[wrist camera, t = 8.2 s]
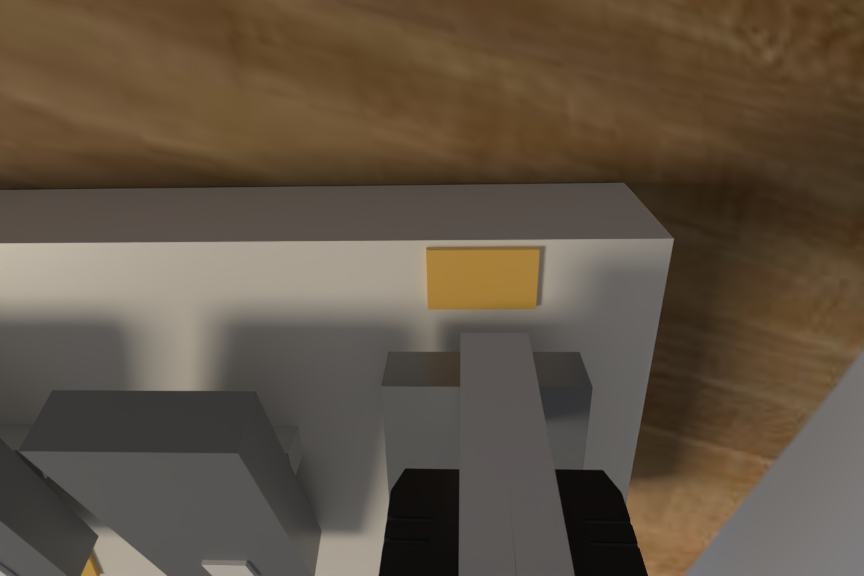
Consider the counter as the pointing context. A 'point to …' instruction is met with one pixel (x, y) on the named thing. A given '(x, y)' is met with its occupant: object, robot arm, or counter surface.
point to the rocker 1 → (38, 525)
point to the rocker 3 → (440, 409)
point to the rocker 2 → (181, 478)
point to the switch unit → (321, 314)
